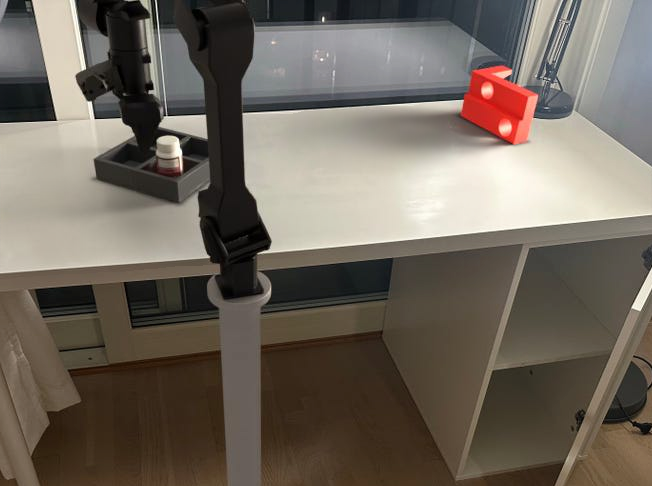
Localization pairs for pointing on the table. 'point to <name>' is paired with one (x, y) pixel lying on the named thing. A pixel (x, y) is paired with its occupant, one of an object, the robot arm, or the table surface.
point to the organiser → (142, 171)
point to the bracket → (499, 104)
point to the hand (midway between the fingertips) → (140, 143)
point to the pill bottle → (169, 157)
